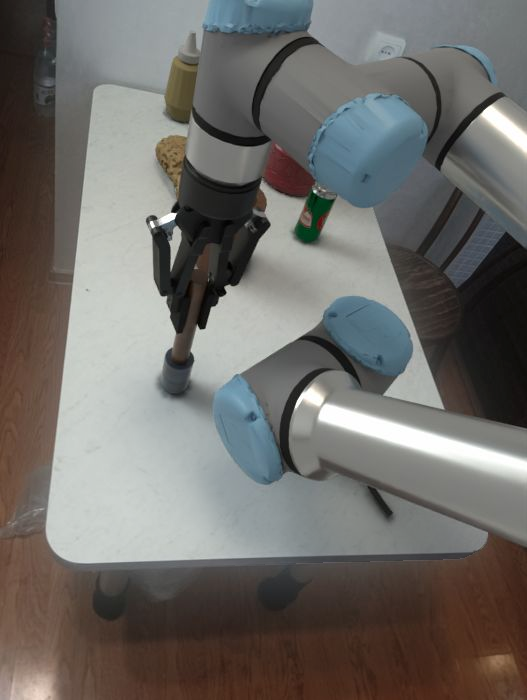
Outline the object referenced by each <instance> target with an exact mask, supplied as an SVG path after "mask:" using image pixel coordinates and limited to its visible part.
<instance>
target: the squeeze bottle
mask: <svg viewBox="0 0 527 700" xmlns="http://www.w3.org/2000/svg"><path fill="white" fill-rule="evenodd" d="M200 52H201V49H198V47H197V33H196V31H194V30H190V31H189V33H188V35H187V38H186V41H185V44H182V45H180V46H179V47H178V52H177V55H176V56H174V57H173V58H172V61H171V67H170V70H169V73H168V74H169V75H168V79H167V84H166V88H165V93H164V96H163V97H164V102H165V107H166V112H167V115H168V116H169V118H171V119H173V120H175V121H177V122H182V123H187V122H188V123H189V122H190V115H191V110H192V104H193V98H194V92H195V85H196V78H197V72H198V65H199V58H200Z"/></svg>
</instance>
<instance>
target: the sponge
mask: <svg viewBox="0 0 527 700" xmlns="http://www.w3.org/2000/svg"><path fill="white" fill-rule="evenodd" d="M186 140H187V136H185V135H178V134H175V135H173V134H172V135H168V136H167V137H164V138H161V140H159V141H158V142H156V144H155V149H154V151H155V158H156V159H157V162H158V164H159V165H160V168H162V170H163V172H164V173H165V174H166V175H167V176H168V177H169V179H170V180H171V182H172V185H173V186H174V189H175V198H176V200H177V199H178V194H179V183H180V177H181V171H182V164H183V158H184V156H185V154H186V153H185V147H186Z"/></svg>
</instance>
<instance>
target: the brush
mask: <svg viewBox="0 0 527 700" xmlns="http://www.w3.org/2000/svg"><path fill="white" fill-rule="evenodd" d="M208 281H209V276H208V274H207V273H206V272H205V271H203V270H201V269H199V268H194V271H193V273H192V276H191V279H190V281H189V284H188V287H187V292H188V294H189V296H190V301H189V306H188V310H187V315H186V319H185V324H184V328H183V333H180V334H176V333H175V336H174V340H173V345H172V347H169V349H168V350H166V352H165V354H164V358H163V365H162V370H161V374H160V379H159V381H160V385H161V387H162V389H163V390H165V391H166V392H168V393H170V394H180V393H182V392H184V391H185V390H186V389H187V388H188V385H189V382H190V378H191V375H192V371H193V367H194V363H195V356H194V353H193V352H192V347H193V343H194V339H195V335H196V331H197V327H198V325H197V323H198V320H199V316H200V312H201V308H202V304H203V300H204V296H205V292H206V288H207V284H208Z"/></svg>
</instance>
